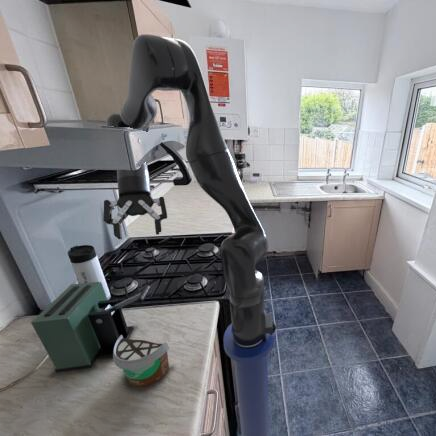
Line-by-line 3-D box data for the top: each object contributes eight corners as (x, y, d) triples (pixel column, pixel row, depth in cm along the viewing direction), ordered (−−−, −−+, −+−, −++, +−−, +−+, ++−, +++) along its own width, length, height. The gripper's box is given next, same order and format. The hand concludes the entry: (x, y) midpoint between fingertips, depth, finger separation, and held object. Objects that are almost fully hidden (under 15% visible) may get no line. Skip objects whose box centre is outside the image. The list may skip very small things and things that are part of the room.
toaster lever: (153, 289, 62) (147, 283, 61) (145, 302, 58) (139, 296, 57) (109, 310, 62) (102, 304, 61) (98, 325, 58) (91, 319, 57)
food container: (108, 388, 53) (95, 358, 49) (129, 363, 59) (119, 334, 55) (158, 397, 52) (148, 367, 48) (175, 370, 57) (167, 341, 53)
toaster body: (117, 324, 70) (102, 280, 63) (90, 368, 57) (67, 318, 51) (89, 327, 68) (70, 282, 62) (55, 372, 56) (28, 322, 50)
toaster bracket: (134, 328, 68) (122, 293, 64) (118, 356, 60) (104, 319, 55) (115, 330, 68) (102, 295, 63) (97, 359, 59) (80, 322, 55)
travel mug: (102, 291, 82) (84, 242, 75) (115, 296, 80) (98, 245, 73) (82, 303, 77) (60, 251, 69) (96, 308, 75) (75, 255, 67)
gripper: (97, 175, 59) (101, 237, 55) (162, 173, 65) (168, 229, 62) (106, 186, 65) (110, 243, 62) (163, 184, 72) (169, 235, 68)
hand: (139, 236), depth 62 cm, fingers open, 8 cm apart
